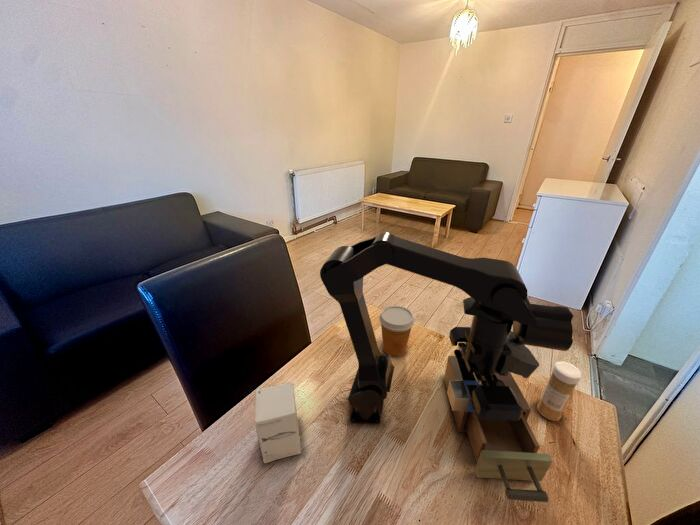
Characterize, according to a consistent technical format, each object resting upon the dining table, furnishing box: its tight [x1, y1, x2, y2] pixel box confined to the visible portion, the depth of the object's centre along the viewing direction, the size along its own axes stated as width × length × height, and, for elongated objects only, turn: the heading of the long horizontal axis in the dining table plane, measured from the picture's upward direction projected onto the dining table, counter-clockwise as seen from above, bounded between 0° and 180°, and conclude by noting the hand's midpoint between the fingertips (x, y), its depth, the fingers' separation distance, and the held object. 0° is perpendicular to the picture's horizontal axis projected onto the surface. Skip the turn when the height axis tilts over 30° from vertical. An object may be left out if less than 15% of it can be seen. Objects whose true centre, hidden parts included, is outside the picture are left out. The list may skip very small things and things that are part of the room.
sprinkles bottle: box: [536, 361, 583, 422], centre depth 61 cm, size 5×5×13 cm
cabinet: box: [443, 355, 532, 433], centre depth 64 cm, size 14×13×8 cm
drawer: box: [465, 412, 553, 503], centre depth 53 cm, size 17×11×6 cm, turn 177°
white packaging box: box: [254, 381, 302, 464], centre depth 55 cm, size 7×7×13 cm
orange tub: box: [378, 305, 416, 357], centre depth 79 cm, size 10×10×12 cm
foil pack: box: [446, 380, 480, 412], centre depth 54 cm, size 8×4×4 cm, turn 87°
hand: (471, 398), depth 54 cm, fingers closed on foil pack, 4 cm apart
